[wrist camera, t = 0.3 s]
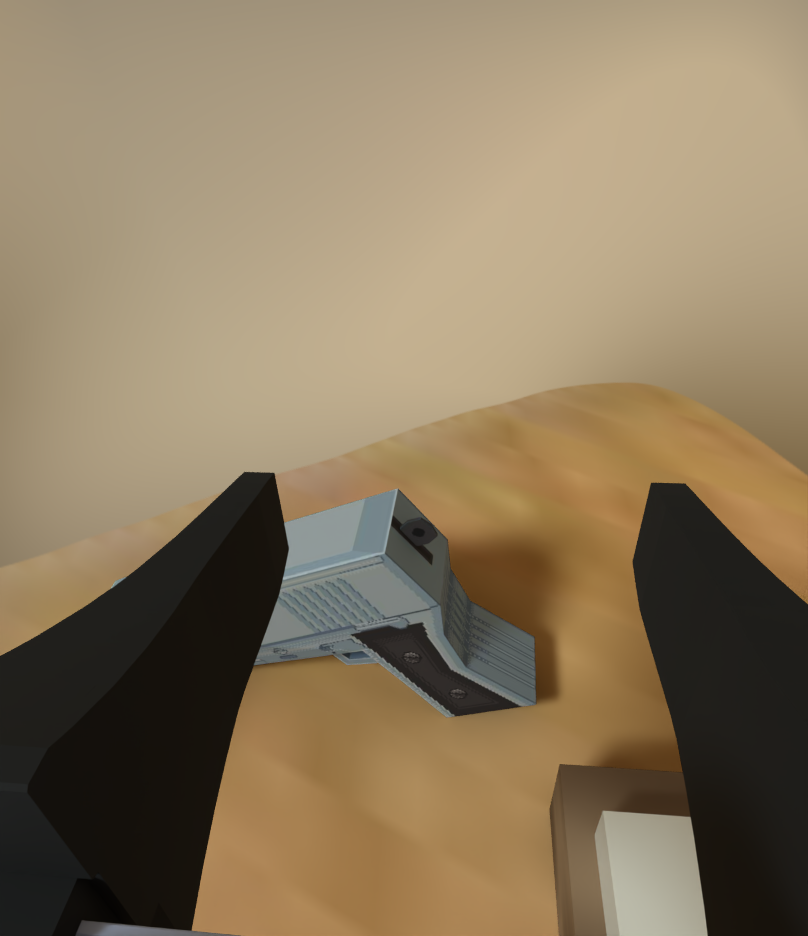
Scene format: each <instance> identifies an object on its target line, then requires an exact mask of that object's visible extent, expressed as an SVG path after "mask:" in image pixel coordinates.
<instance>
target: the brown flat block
mask: <svg viewBox="0 0 808 936" xmlns="http://www.w3.org/2000/svg"><path fill="white" fill-rule="evenodd" d="M603 811H615V812H628V813H642V814H656V815H669V816H683V817H690V811H689V805H688V799H687V792H686V787H685V781H684V776H683V772H669V771H654V770H639V769H624V768H609V767H594V766H580V765H565V764H560V765H559V770H558V774H557V779H556V783H555V788H554V792H553V797H552V801H551V805H550V820H551V834H552V847H553V860H554V874H555V887H556V900H557V914H558V927H559V936H607V934H606V925H605V917H604V909H603V901H602V892H601V884H600V876H599V868H598V860H597V851H596V843H595V832H596V829H597V826H598V823H599V820H600V818H601V815H602V812H603Z"/></svg>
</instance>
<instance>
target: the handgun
mask: <svg viewBox="0 0 808 936" xmlns="http://www.w3.org/2000/svg"><path fill="white" fill-rule="evenodd" d="M284 525H285V530H286V535H287V540H288V545H289V552H288V557H287V562H286V567H285V572H284V576H283V581H282V585H281V589H280V594H279V597H278V600H277V602H276V605H275V608H274V611H273V614H272V617H271V619H270V622H269V625H268V628H267V631H266V633H265V636H264V639H263V642H262V644H261V647H260V650H259V652H258V655H257V658H256V661H255V663H254V665H259V664H267V663H274V662H282V661H289V660H297V659H304V658H312V657H320V656H327V655H333V656H335V657H336V658H338V659H339V660H341V661H342V662H343V663H345V664H346V665H354V664H369V663H379V664H380V665H382V666H383V667H384V668H386V669H387V670H388V671H389V672H391V673H392V674H393V675H395V676H396V677H397V678H398V679H400V680H401V681H402V682H403V683H405V684H406V685H407V686H408V687H410V688H411V689H412V690H413V691H415V692H416V693H417V694H418V695H420V696H421V697H422V698H423V699H425V700H426V701H427V702H428V703H430V704H431V705H432V706H433V707H434V708H436V709H437V710H438V711H439V712H441V713H442V714H443V715H444V716H446V717H454V716H460V715H467V714H474V713H481V712H488V711H495V710H502V709H509V708H515V707H522V706H529V705H536V675H535V637H534V636H532V635H530V634H528V633H527V632H525V631H523V630H521V629H519V628H518V627H516V626H514V625H512V624H511V623H509V622H507V621H505V620H503V619H502V618H500V617H498V616H496V615H495V614H493V613H491V612H489V611H487V610H486V609H484V608H482V607H480V606H479V605H477V604H475V603H473V602H472V601H470V600H469V598H468V596H467V595H466V593H465V591H464V590H463V588H462V586H461V585H460V583H459V581H458V580H457V578H456V577H455V575H454V573H453V572H452V570H451V568H450V558H449V549H448V539H447V538H446V537H445V536H444V535H443V534H442V533H441V532H440V531H439V530H438V529H437V528H436V527H435V526H434V525H433V524H432V523H431V522H430V521H429V520H428V519H427V518H426V517H425V516H424V515H423V514H422V513H421V512H420V511H419V510H418V509H417V508H416V506H415V505H414V504H413V503H412V502H411V501H410V500H409V499H408V498H407V497H406V496H405V495H404V494H403V493H402V492H401V491H400V490H399V489H395V490H391V491H388V492H385V493H381V494H378V495H375V496H371V497H368V498H365V499H361V500H358V501H355V502H351V503H348V504H345V505H341V506H338V507H335V508H331V509H328V510H325V511H322V512H318V513H315V514H312V515H308V516H305V517H302V518H298V519H295V520H292V521H288V522H285V523H284ZM125 578H126V577H125ZM125 578H122V579H119V580H117V581H115V582H114V584H113V586H112V588H113V587H114V586H115V585H117V584H118V583H119V582H121V581H122V580H123V579H125Z"/></svg>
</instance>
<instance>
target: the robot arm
mask: <svg viewBox="0 0 808 936" xmlns="http://www.w3.org/2000/svg"><path fill="white" fill-rule="evenodd" d="M288 552H289V545H288V540H287V535H286V530H285V525H284V520H283V515H282V510H281V504H280V499H279V494H278V489H277V484H276V479H275V474H274V473H259V472H257V473H255V472H244V473H243V474H242V475H241V476H240V477H239V478H237V479H236V480H235V482H233V483H232V484H231V485H230V486H229V487H228V488H227V489H226V490H225V491H224V492H223V493H222V494H221V495H220V496H219V497H218V498H216V499H215V500H214V501H213V502H212V503H211V504H210V505H209V506H208V507H207V508H206V509H205V510H204V511H203V512H202V513H201V514H200V515H199V516H198V517H197V518H195V519H194V520H193V521H192V522H191V523H190V524H189V525H188V526H187V527H186V528H185V529H183V530H182V531H181V532H180V533H179V534H178V535H177V536H176V537H175V538H174V539H172V540H171V541H170V542H169V543H168V544H166V545H165V546H164V547H163V548H162V549H160V550H159V551H158V552H157V553H156V554H155V555H153V556H152V557H151V558H150V559H149V560H147V561H146V562H145V563H144V564H143V565H141V566H140V567H139V568H138V569H136V570H135V571H134V572H133V573H131V574H130V575H129V576H127V577H126V578H125V579H123V580H122V581H121V582H119V583H118V584H117V585H115V586H114V587H113V588H111V589H110V590H108V591H107V592H105V593H104V594H103V595H101V596H100V597H98V598H97V599H95V600H94V601H93V602H91V603H90V604H88V605H87V606H85V607H84V608H82V609H80V610H79V611H77V612H75V613H74V614H72V615H71V616H69V617H67V618H66V619H64V620H62V621H61V622H59V623H57V624H56V625H54V626H53V627H51V628H49V629H48V630H46V631H44V632H43V633H41V634H40V635H38V636H36V637H34V638H33V639H31V640H29V641H27V642H25V643H24V644H22V645H20V646H18V647H16V648H14V649H13V650H11V651H9V652H7V653H5V654H3V655H1V656H0V936H239V935H229V934H218V933H208V932H198V931H192V925H193V919H194V914H195V908H196V903H197V897H198V892H199V886H200V881H201V875H202V869H203V864H204V859H205V854H206V850H207V845H208V840H209V835H210V830H211V825H212V820H213V815H214V810H215V806H216V801H217V797H218V793H219V788H220V784H221V779H222V775H223V771H224V766H225V762H226V758H227V754H228V750H229V746H230V742H231V738H232V734H233V730H234V726H235V722H236V717H237V714H238V710H239V707H240V704H241V701H242V697H243V694H244V691H245V688H246V685H247V683H248V680H249V677H250V674H251V672H252V669H253V666H254V663H255V661H256V658H257V655H258V652H259V650H260V647H261V644H262V642H263V639H264V636H265V633H266V631H267V628H268V625H269V622H270V619H271V617H272V614H273V611H274V608H275V605H276V602H277V600H278V597H279V594H280V589H281V585H282V581H283V576H284V572H285V567H286V562H287V557H288ZM633 568H634V575H635V582H636V589H637V595H638V601H639V608H640V612H641V616H642V619H643V623H644V626H645V630H646V633H647V637H648V640H649V644H650V647H651V650H652V654H653V657H654V660H655V664H656V667H657V671H658V674H659V677H660V681H661V684H662V687H663V691H664V694H665V698H666V701H667V704H668V708H669V711H670V714H671V718H672V722H673V726H674V730H675V734H676V738H677V743H678V749H679V754H680V760H681V765H682V771H683V776H684V781H685V787H686V792H687V799H688V805H689V811H690V817H691V823H692V829H693V835H694V841H695V847H696V854H697V861H698V868H699V875H700V882H701V889H702V896H703V903H704V910H705V918H706V927H707V935H708V936H808V604H807V603H806V602H804V601H803V600H802V599H801V598H800V597H799V596H798V595H796V594H795V593H794V592H793V591H792V590H791V589H790V588H789V587H787V586H786V585H785V584H784V583H783V582H782V581H781V580H779V579H778V578H777V577H776V576H775V575H774V574H773V573H772V572H771V571H770V570H769V569H768V568H767V567H765V566H764V565H763V564H762V563H761V562H760V561H759V560H758V559H757V558H756V557H755V556H754V555H753V554H752V553H751V552H750V551H749V550H748V549H747V548H746V547H745V546H744V545H743V544H742V543H741V542H740V541H739V540H738V539H737V538H736V537H735V536H734V535H733V534H732V533H731V532H730V531H729V530H728V529H727V528H726V526H725V525H724V524H723V523H722V522H721V521H720V520H719V519H718V518H717V517H716V516H715V515H714V514H713V513H712V512H711V511H710V509H709V508H708V507H707V506H706V505H705V504H704V503H703V502H702V501H701V500H700V499H699V498H698V497H697V495H696V494H695V493H694V492H693V491H692V490H691V489H690V488H689V487H688V486H687V485H686V484H680V483H651V486H650V490H649V494H648V498H647V503H646V507H645V511H644V515H643V520H642V524H641V528H640V532H639V537H638V541H637V545H636V549H635V554H634V558H633Z"/></svg>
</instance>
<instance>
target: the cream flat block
mask: <svg viewBox="0 0 808 936" xmlns="http://www.w3.org/2000/svg"><path fill="white" fill-rule="evenodd" d="M595 843H596V851H597V860H598V868H599V876H600V884H601V892H602V901H603V909H604V917H605V925H606V934H607V936H708V935H707V927H706V918H705V910H704V903H703V896H702V889H701V882H700V875H699V868H698V861H697V854H696V847H695V841H694V835H693V829H692V823H691V817H683V816H669V815H656V814H642V813H628V812H615V811H603V812H602V815H601V818H600V820H599V823H598V826H597V829H596V832H595Z"/></svg>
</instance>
